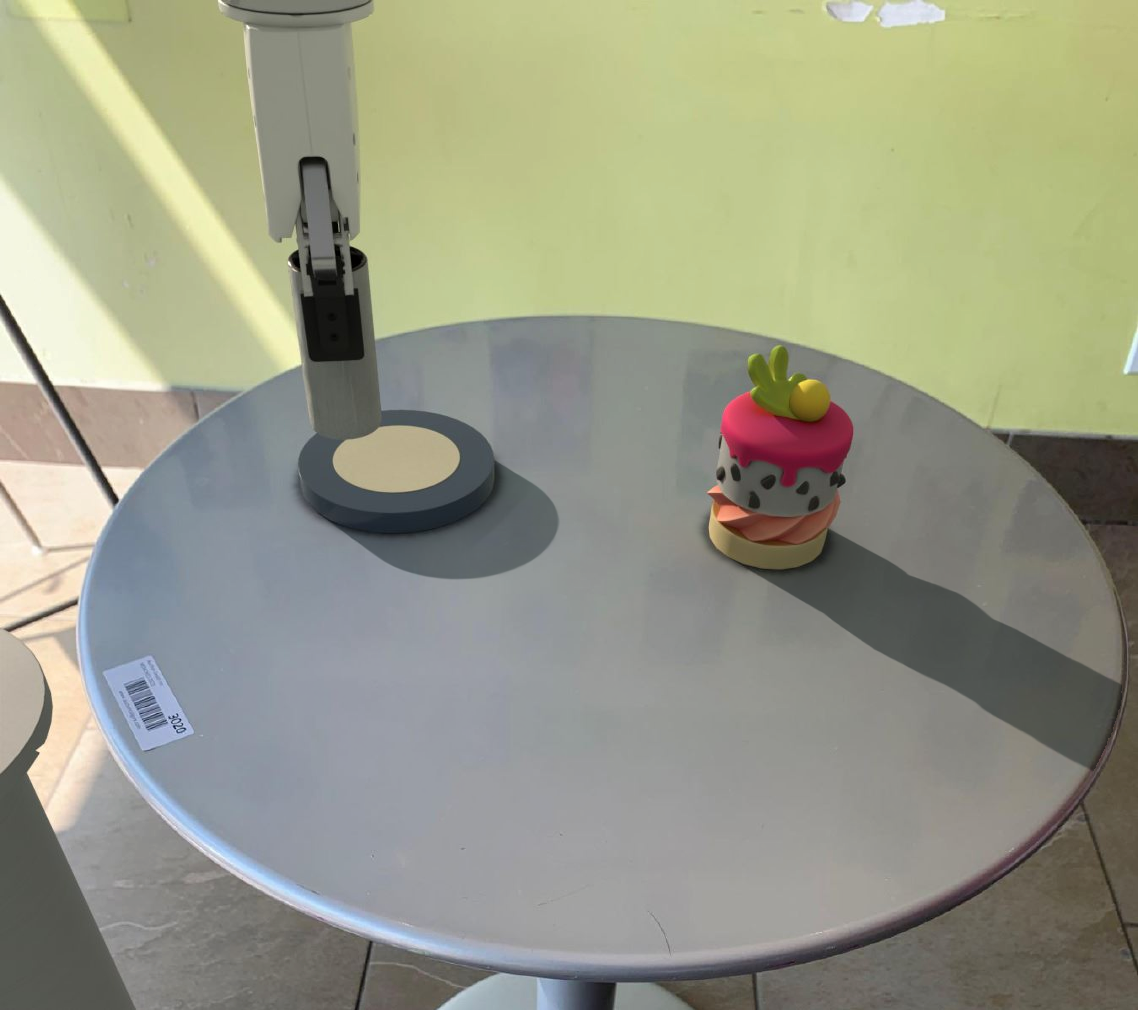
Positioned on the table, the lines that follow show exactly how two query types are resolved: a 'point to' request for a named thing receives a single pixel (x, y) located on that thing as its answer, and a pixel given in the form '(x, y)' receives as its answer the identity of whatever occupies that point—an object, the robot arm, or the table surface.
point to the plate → (399, 473)
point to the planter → (340, 366)
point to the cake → (778, 468)
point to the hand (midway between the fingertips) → (335, 335)
